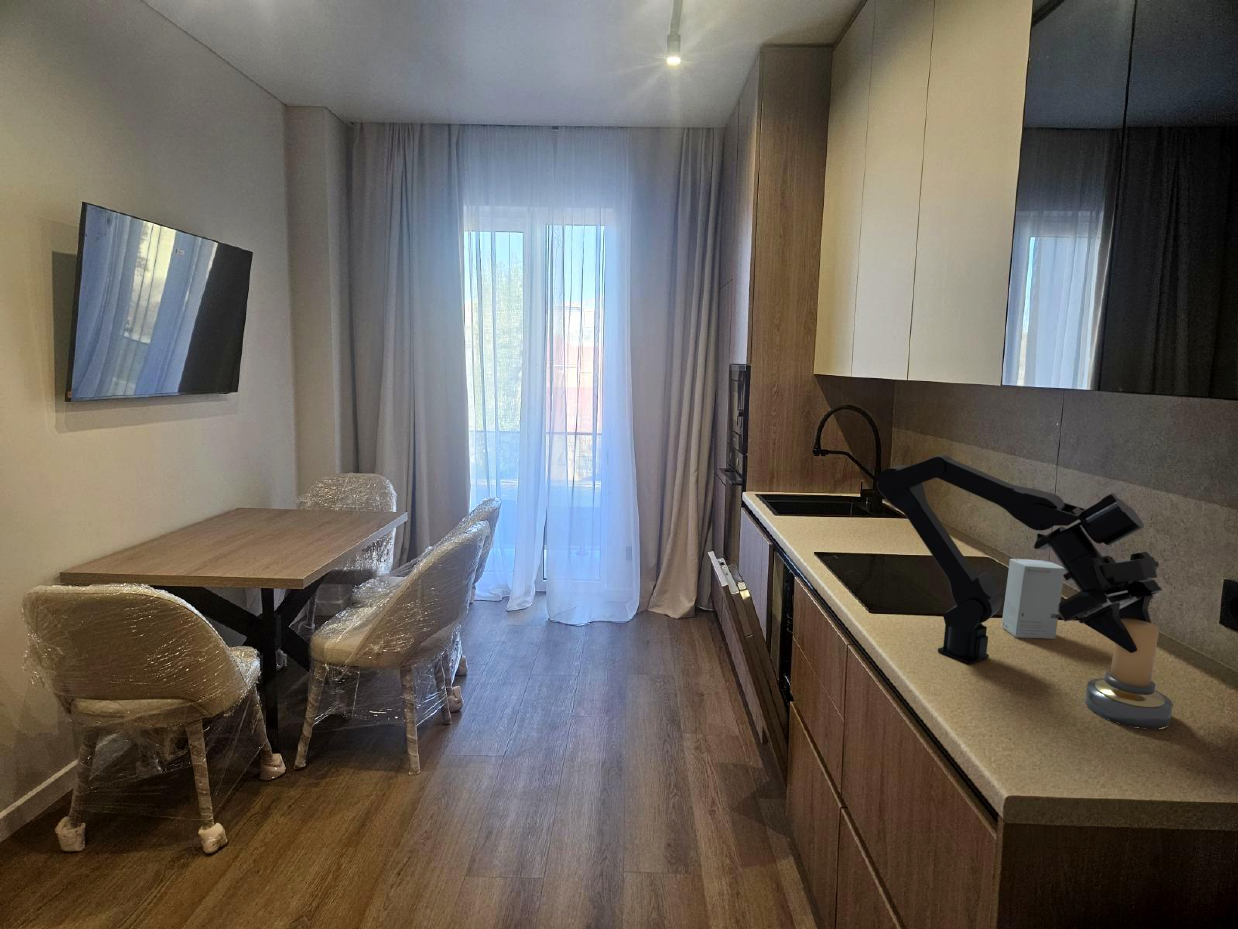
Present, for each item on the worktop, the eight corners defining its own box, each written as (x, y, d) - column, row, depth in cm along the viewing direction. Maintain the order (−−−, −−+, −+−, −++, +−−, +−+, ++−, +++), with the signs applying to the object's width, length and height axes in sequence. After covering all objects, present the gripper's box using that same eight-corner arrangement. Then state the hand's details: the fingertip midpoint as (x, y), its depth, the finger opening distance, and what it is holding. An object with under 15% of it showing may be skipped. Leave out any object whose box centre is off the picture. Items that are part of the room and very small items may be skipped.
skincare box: (1015, 638, 142) (1023, 566, 140) (999, 627, 148) (1007, 557, 146) (1057, 639, 142) (1066, 567, 140) (1040, 628, 148) (1048, 558, 145)
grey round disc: (1071, 705, 115) (1074, 685, 114) (1105, 689, 121) (1108, 671, 120) (1150, 737, 106) (1153, 716, 105) (1182, 718, 111) (1186, 698, 111)
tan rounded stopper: (1104, 687, 112) (1114, 626, 110) (1104, 672, 117) (1113, 614, 115) (1155, 699, 108) (1165, 636, 107) (1152, 683, 113) (1162, 623, 112)
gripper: (1087, 540, 108) (1157, 637, 100) (1156, 530, 116) (1226, 618, 108) (1031, 575, 116) (1092, 667, 108) (1099, 563, 125) (1160, 647, 117)
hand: (1144, 649), depth 110 cm, fingers closed on tan rounded stopper, 5 cm apart
